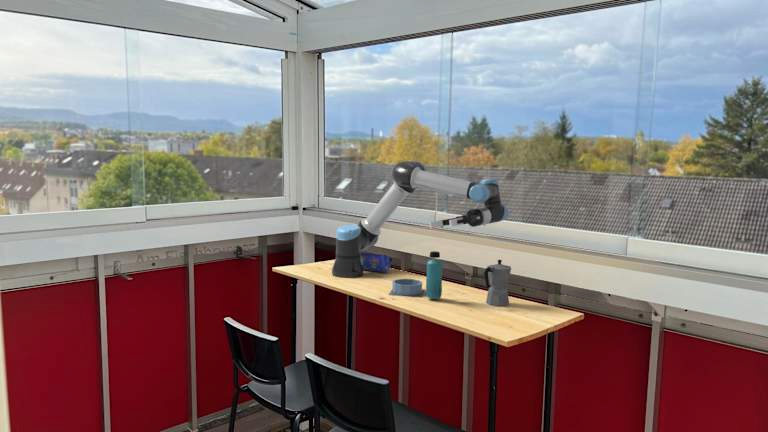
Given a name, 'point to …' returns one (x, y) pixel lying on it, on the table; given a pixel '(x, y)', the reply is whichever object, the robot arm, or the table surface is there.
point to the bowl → (407, 287)
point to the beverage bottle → (434, 276)
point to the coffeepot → (497, 284)
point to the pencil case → (375, 262)
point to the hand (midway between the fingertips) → (439, 224)
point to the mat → (408, 296)
